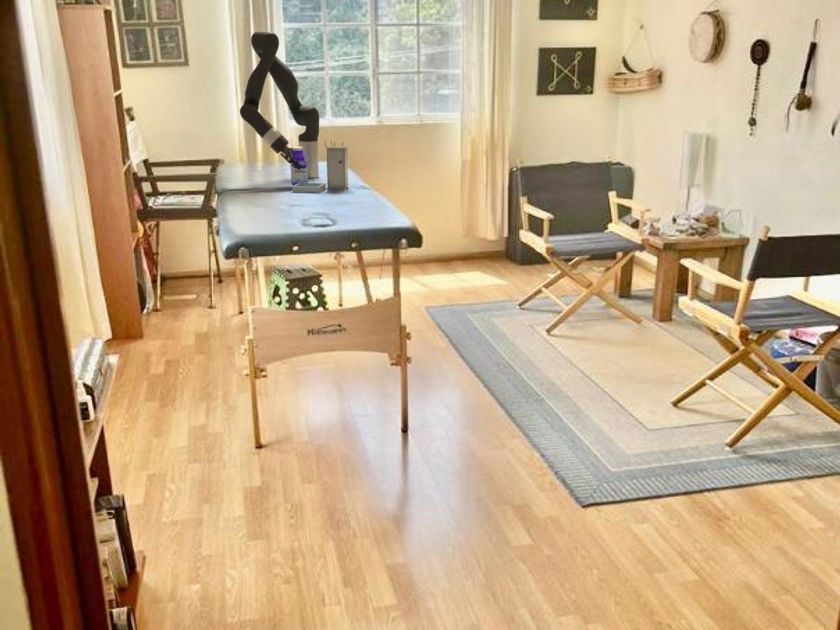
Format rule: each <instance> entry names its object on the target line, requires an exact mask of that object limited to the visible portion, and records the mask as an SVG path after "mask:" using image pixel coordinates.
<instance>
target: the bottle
mask: <svg viewBox="0 0 840 630" xmlns="http://www.w3.org/2000/svg"><path fill="white" fill-rule="evenodd" d="M292 148H293V150H294V152H293V155H294V158H295V159H296V161H297V162H298V163H299V164H300V165H301V166H302V168H301V169H300V170H298V169H297V168H296V167H295V166H294V165H293V164H290V178H291V180H290V181H291V185H292V186H294V185H296V184H297V183H309V178H308V173H307V163H306V161H305V156H304V154H303V147H299V146H294V147H292Z"/></svg>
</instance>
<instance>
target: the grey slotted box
mask: <svg viewBox="0 0 840 630" xmlns="http://www.w3.org/2000/svg"><path fill="white" fill-rule="evenodd" d="M348 167H349V166H348V146H336V145H335V146H334V145H330V146H327V148H326V172H327V173H326V176H327V178H326V179H327V181H326V187H327V190H343V189H346V188H347V187H348V188H349V177H348V176H349V174H348V172H349V169H348ZM348 188H347V189H348ZM347 189H346V190H347Z"/></svg>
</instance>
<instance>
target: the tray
mask: <svg viewBox="0 0 840 630" xmlns="http://www.w3.org/2000/svg"><path fill="white" fill-rule="evenodd" d="M326 187H327V182H308V183H297V184H296V185H294V186H293V185H292V186H291V188H292V192H291V193H304V192H321V191H322V192H324V191H325V190H327V188H326ZM324 189H325V190H324ZM322 192H321V193H322Z"/></svg>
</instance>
